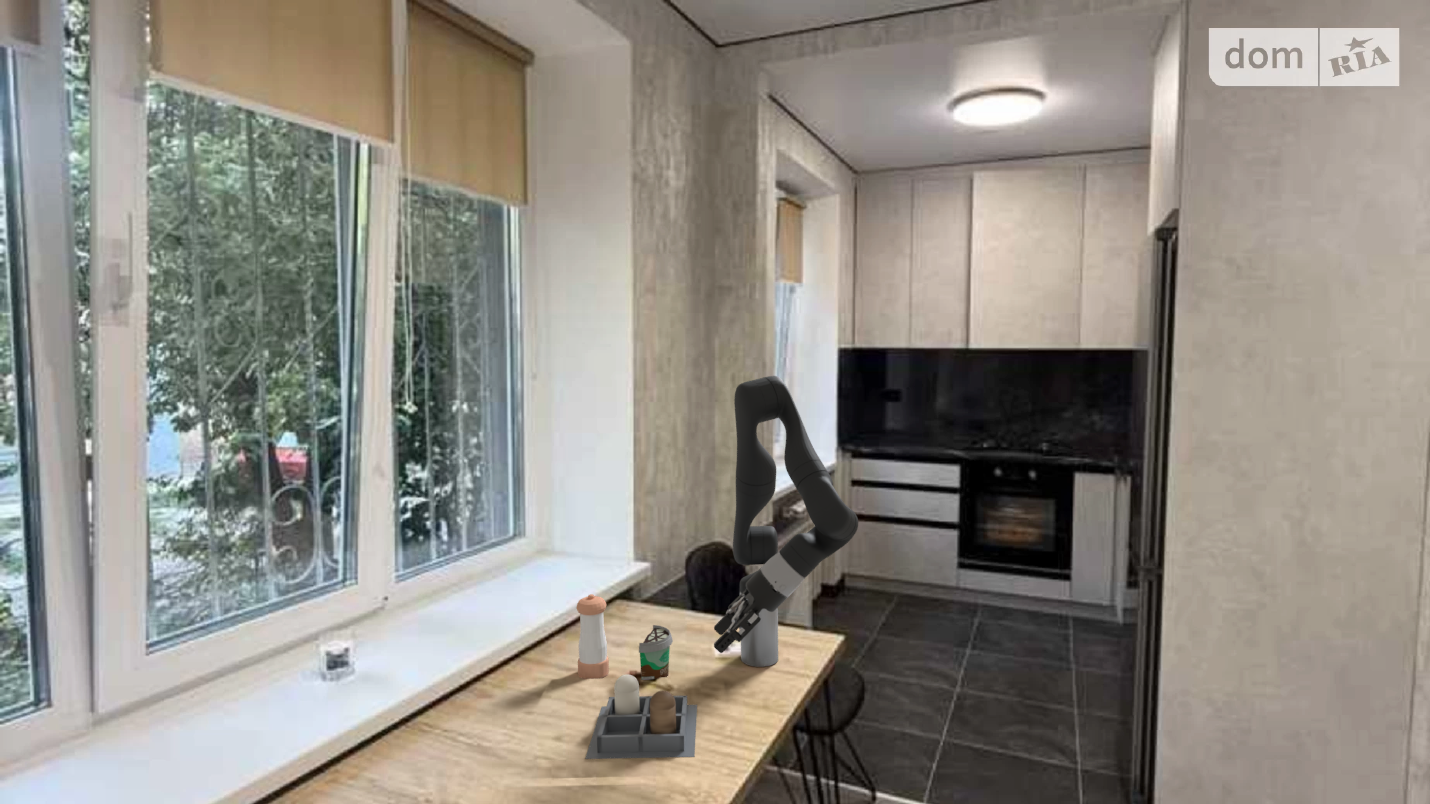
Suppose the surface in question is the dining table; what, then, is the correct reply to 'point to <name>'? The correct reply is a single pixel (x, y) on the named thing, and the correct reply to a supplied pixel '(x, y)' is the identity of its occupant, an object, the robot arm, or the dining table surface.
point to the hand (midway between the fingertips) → (717, 640)
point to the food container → (655, 653)
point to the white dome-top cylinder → (627, 696)
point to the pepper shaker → (592, 639)
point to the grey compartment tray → (642, 733)
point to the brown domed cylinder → (663, 713)
